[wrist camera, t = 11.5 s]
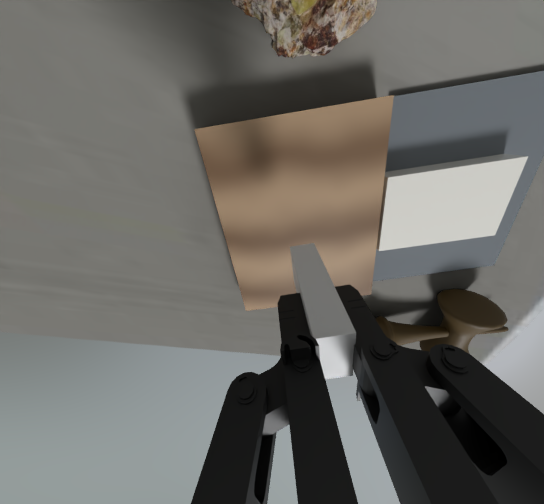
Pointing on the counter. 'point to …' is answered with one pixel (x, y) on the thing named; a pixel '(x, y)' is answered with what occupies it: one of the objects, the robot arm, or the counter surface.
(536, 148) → the mat
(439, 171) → the stone tile
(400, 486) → the robot arm
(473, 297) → the kendama
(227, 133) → the tan wooden board
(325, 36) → the mineral rock
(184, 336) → the counter surface
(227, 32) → the counter surface
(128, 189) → the counter surface
